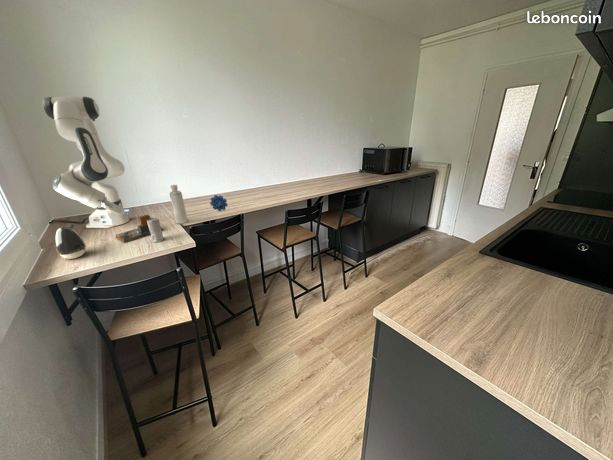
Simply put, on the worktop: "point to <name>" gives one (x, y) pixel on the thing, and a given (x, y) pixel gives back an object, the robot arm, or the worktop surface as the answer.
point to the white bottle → (178, 205)
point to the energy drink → (155, 229)
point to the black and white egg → (69, 243)
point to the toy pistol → (132, 235)
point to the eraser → (143, 223)
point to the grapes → (218, 203)
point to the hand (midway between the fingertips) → (123, 212)
